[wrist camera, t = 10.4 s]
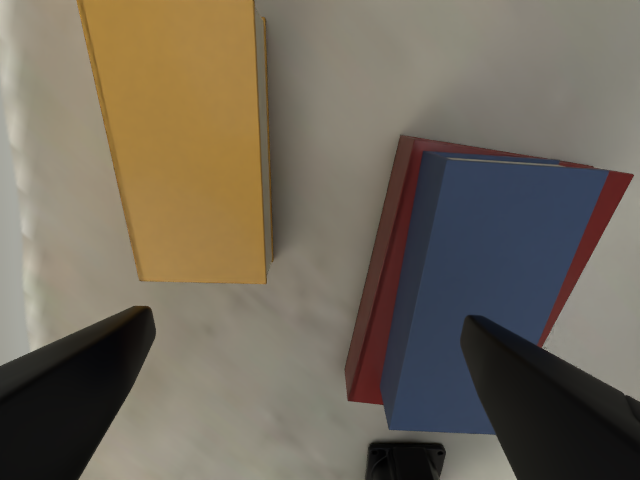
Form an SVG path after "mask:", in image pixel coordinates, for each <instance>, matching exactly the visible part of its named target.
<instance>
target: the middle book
mask: <svg viewBox="0 0 640 480" xmlns="http://www.w3.org/2000/svg"><path fill="white" fill-rule="evenodd" d="M559 162H560V160H555V159H539V158H524V157H509V156H494V155H479V154H464V153H449V152H433V151H423V154H422V159H421V165H420V170H419V176H418V181H417V187H416V192H415V198H414V203H413V208H412V214H411V219H410V225H409V230H408V236H407V241H406V246H405V252H404V257H403V263H402V268H401V274H400V279H399V285H398V290H397V295H396V301H395V306H394V312H393V317H392V323H391V328H390V333H389V339H388V344H387V350H386V355H385V361H384V366H383V371H382V377H381V382H380V391H381V395H382V400H383V405H384V409H385V414H386V418H387V423H388V428H389V430H404V431H426V432H448V433H470V434H493V435H496V433H495V431H494V429H493V427H492V425H491V423H490V421H489V419H488V417H487V414H486V412H485V410H484V408H483V406H482V404H481V401H480V399H479V397H478V394H477V392H476V389H475V386H474V383H473V381H472V378H471V375H470V372H469V369H468V366H467V364H466V361H465V358H464V355H463V352H462V349H461V346H460V336H461V332H462V328H463V324H464V320H465V317H466V316H468V315H482V316H484V317H486V318H488V319H490V320H491V321H493V322H495V323H497V324H499V325H500V326H502V327H504V328H506V329H508V330H510V331H511V332H513V333H515V334H517V335H519V336H520V337H522V338H524V339H526V340H528V341H530V342H531V343H533V344H535V345H537V344H538V342H539V339H540V337H541V335H542V332H543V330H544V327H545V325H546V323H547V320H548V318H549V315H550V313H551V311H552V308H553V306H554V303H555V301H556V299H557V296H558V294H559V291H560V289H561V287H562V284H563V282H564V279H565V277H566V275H567V272H568V270H569V267H570V265H571V263H572V260H573V258H574V255H575V253H576V251H577V248H578V246H579V243H580V241H581V238H582V236H583V234H584V231H585V229H586V226H587V224H588V222H589V219H590V217H591V214H592V212H593V210H594V207H595V205H596V202H597V200H598V198H599V195H600V193H601V190H602V188H603V186H604V183H605V181H606V178H607V176H608V174H609V170H604V169H591V168H575V167H564V166H560V165H559Z"/></svg>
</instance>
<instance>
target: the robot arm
mask: <svg viewBox="0 0 640 480" xmlns="http://www.w3.org/2000/svg"><path fill="white" fill-rule="evenodd" d="M155 336H156V328H155V323H154V318H153V313H152V310H151V308H150V307H148V306H133V307H131V308H128V309H126V310H124V311H122V312H120V313H117V314H115V315H113V316H111V317H108V318H106V319H104V320H102V321H100V322H97V323H95V324H93V325H91V326H88V327H86V328H84V329H82V330H79V331H77V332H75V333H73V334H71V335H68V336H66V337H64V338H62V339H59V340H57V341H55V342H53V343H50V344H48V345H46V346H44V347H42V348H39V349H37V350H35V351H33V352H30V353H28V354H26V355H24V356H22V357H19V358H17V359H15V360H13V361H10V362H8V363H6V364H4V365H2V366H0V480H78V479H79V478H80V476H81V474H82V473H83V471H84V469H85V467H86V466H87V464H88V462H89V461H90V459H91V457H92V456H93V454H94V452H95V450H96V449H97V447H98V445H99V444H100V442H101V440H102V438H103V437H104V435H105V433H106V432H107V430H108V428H109V427H110V425H111V423H112V421H113V420H114V418H115V416H116V415H117V413H118V411H119V409H120V408H121V406H122V404H123V403H124V401H125V399H126V397H127V396H128V394H129V392H130V390H131V389H132V387H133V385H134V383H135V381H136V378H137V376H138V374H139V372H140V370H141V368H142V365H143V363H144V361H145V359H146V357H147V354H148V352H149V350H150V348H151V346H152V343H153V341H154V339H155ZM460 346H461V349H462V352H463V355H464V358H465V361H466V364H467V366H468V369H469V372H470V375H471V378H472V381H473V383H474V386H475V389H476V392H477V394H478V397H479V399H480V401H481V404H482V406H483V408H484V410H485V412H486V414H487V417H488V419H489V421H490V423H491V425H492V427H493V429H494V431H495V433H496V436H497V438H498V440H499V442H500V444H501V446H502V448H503V450H504V453H505V455H506V457H507V459H508V461H509V463H510V465H511V467H512V469H513V472H514V474H515V476H516V478H517V480H640V402H639V401H637V400H635V399H634V398H632V397H630V396H628V395H624V393H622V392H621V391H619V390H617V389H615V388H613V387H612V386H610V385H608V384H606V383H604V382H602V381H601V380H599V379H597V378H595V377H593V376H591V375H590V374H588V373H586V372H584V371H582V370H581V369H579V368H577V367H575V366H573V365H571V364H570V363H568V362H566V361H564V360H562V359H561V358H559V357H557V356H555V355H553V354H551V353H550V352H548V351H546V350H544V349H542V348H541V347H539V346H537V345H535V344H533V343H531V342H530V341H528V340H526V339H524V338H522V337H520V336H519V335H517V334H515V333H513V332H511V331H510V330H508V329H506V328H504V327H502V326H500V325H499V324H497V323H495V322H493V321H491V320H490V319H488V318H486V317H484V316H482V315H468V316H466V317H465V320H464V324H463V328H462V332H461V336H460ZM445 455H446V451H445V448H444V446H443V445H432V444H372V445H370V446H369V447H368V455H367V465H366V474H365V480H440V475H441V471H442V467H443V463H444V459H445Z"/></svg>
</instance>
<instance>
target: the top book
mask: <svg viewBox="0 0 640 480" xmlns="http://www.w3.org/2000/svg"><path fill="white" fill-rule="evenodd" d="M77 5H78V9H79V14H80V18H81V23H82V27H83V31H84V36H85V40H86V45H87V49H88V54H89V58H90V63H91V67H92V72H93V76H94V81H95V85H96V90H97V94H98V99H99V103H100V107H101V112H102V116H103V121H104V125H105V130H106V134H107V139H108V143H109V148H110V152H111V157H112V161H113V166H114V170H115V175H116V179H117V183H118V188H119V192H120V197H121V201H122V206H123V210H124V215H125V219H126V224H127V228H128V233H129V237H130V242H131V246H132V251H133V255H134V259H135V264H136V268H137V273H138V277H139V281H156V282H198V283H240V284H266V283H267V274H268V271H269V268H270V265H271V262H273V260H274V257H273V227H272V198H271V168H270V138H269V109H268V79H267V49H266V20H265V17H261V16H260V15H259V13H258V12H257V10H256V9H255V1H254V0H77Z"/></svg>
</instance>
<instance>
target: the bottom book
mask: <svg viewBox="0 0 640 480" xmlns="http://www.w3.org/2000/svg"><path fill="white" fill-rule="evenodd" d="M423 151H433V152H449V153H464V154H479V155H494V156H509V157H524V158H539V159H546V158H540V157H534V156H528V155H522V154H516V153H509V152H503V151H497V150H491V149H485V148H479V147H472V146H466V145H460V144H454V143H448V142H442V141H435V140H429V139H423V138H417V137H411V136H405V135H400V139H399V143H398V147H397V151H396V156H395V160H394V164H393V168H392V172H391V177H390V181H389V185H388V189H387V193H386V198H385V202H384V206H383V210H382V214H381V219H380V223H379V227H378V231H377V235H376V240H375V244H374V248H373V252H372V256H371V261H370V265H369V269H368V273H367V277H366V282H365V286H364V290H363V294H362V298H361V303H360V307H359V311H358V315H357V319H356V324H355V328H354V332H353V336H352V340H351V345H350V349H349V353H348V357H347V362H346V366H345V378H346V389H347V399H348V401H353V402H362V403H371V404H380V405H383V400H382V395H381V391H380V382H381V377H382V371H383V366H384V361H385V355H386V350H387V344H388V339H389V333H390V328H391V323H392V317H393V312H394V306H395V301H396V295H397V290H398V285H399V279H400V274H401V268H402V263H403V257H404V252H405V246H406V241H407V236H408V230H409V225H410V219H411V214H412V208H413V203H414V198H415V192H416V187H417V181H418V176H419V170H420V165H421V159H422V154H423ZM559 165H560V166H564V167H575V168H591V169H599V168H594V167H593V166H589V165H583V164H577V163H571V162H565V161H560V162H559ZM604 170H605V169H604ZM633 176H634V175H633V174H629V173H624V172H617V171H611V170H609V174H608V176H607V178H606V181H605V183H604V186H603V188H602V190H601V193H600V195H599V198H598V200H597V202H596V205H595V207H594V210H593V212H592V214H591V217H590V219H589V222H588V224H587V226H586V229H585V231H584V234H583V236H582V238H581V241H580V243H579V246H578V248H577V251H576V253H575V255H574V258H573V260H572V263H571V265H570V267H569V270H568V272H567V275H566V277H565V279H564V282H563V284H562V287H561V289H560V291H559V294H558V296H557V299H556V301H555V303H554V306H553V308H552V311H551V313H550V315H549V318H548V320H547V323H546V325H545V327H544V330H543V332H542V335H541V337H540V339H539V342H538V344H537V346H539V347H541V348H542V346H543V344H544V342H545V340H546V338H547V337H548V335H549V333H550V331H551V329H552V327H553V325H554V323H555V322H556V320H557V318H558V316H559V314H560V312H561V310H562V309H563V307H564V305H565V303H566V301H567V299H568V297H569V296H570V294H571V292H572V290H573V288H574V286H575V284H576V282H577V281H578V279H579V277H580V275H581V273H582V271H583V269H584V268H585V266H586V264H587V262H588V260H589V258H590V256H591V254H592V253H593V251H594V249H595V247H596V245H597V243H598V241H599V240H600V238H601V236H602V234H603V232H604V230H605V228H606V227H607V225H608V223H609V221H610V219H611V217H612V215H613V213H614V212H615V210H616V208H617V206H618V204H619V202H620V200H621V199H622V197H623V195H624V193H625V191H626V189H627V187H628V185H629V184H630V182H631V180H632V178H633Z"/></svg>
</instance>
